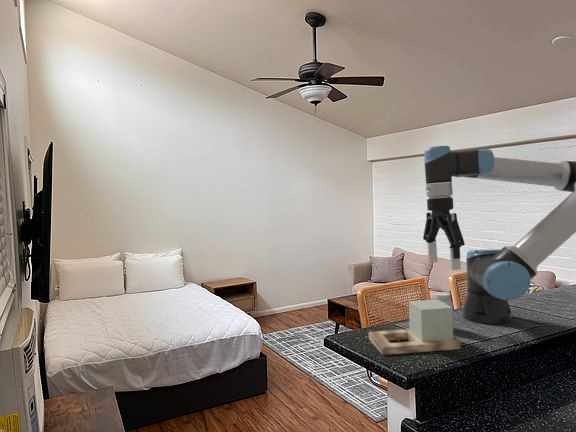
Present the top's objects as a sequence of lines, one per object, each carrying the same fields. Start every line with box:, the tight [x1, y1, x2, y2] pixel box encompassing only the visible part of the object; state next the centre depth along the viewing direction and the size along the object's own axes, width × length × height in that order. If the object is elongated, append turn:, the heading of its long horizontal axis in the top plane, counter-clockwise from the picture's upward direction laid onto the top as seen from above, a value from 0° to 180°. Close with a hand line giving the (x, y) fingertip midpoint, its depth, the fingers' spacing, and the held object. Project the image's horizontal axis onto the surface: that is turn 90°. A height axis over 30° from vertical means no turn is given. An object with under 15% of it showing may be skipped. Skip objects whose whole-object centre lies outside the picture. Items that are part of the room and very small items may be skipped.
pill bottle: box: [434, 291, 455, 330], centre depth 131 cm, size 6×6×11 cm
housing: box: [408, 299, 454, 342], centre depth 120 cm, size 9×9×9 cm
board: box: [368, 328, 461, 356], centre depth 120 cm, size 22×13×2 cm, turn 95°
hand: (443, 265), depth 129 cm, fingers open, 13 cm apart
